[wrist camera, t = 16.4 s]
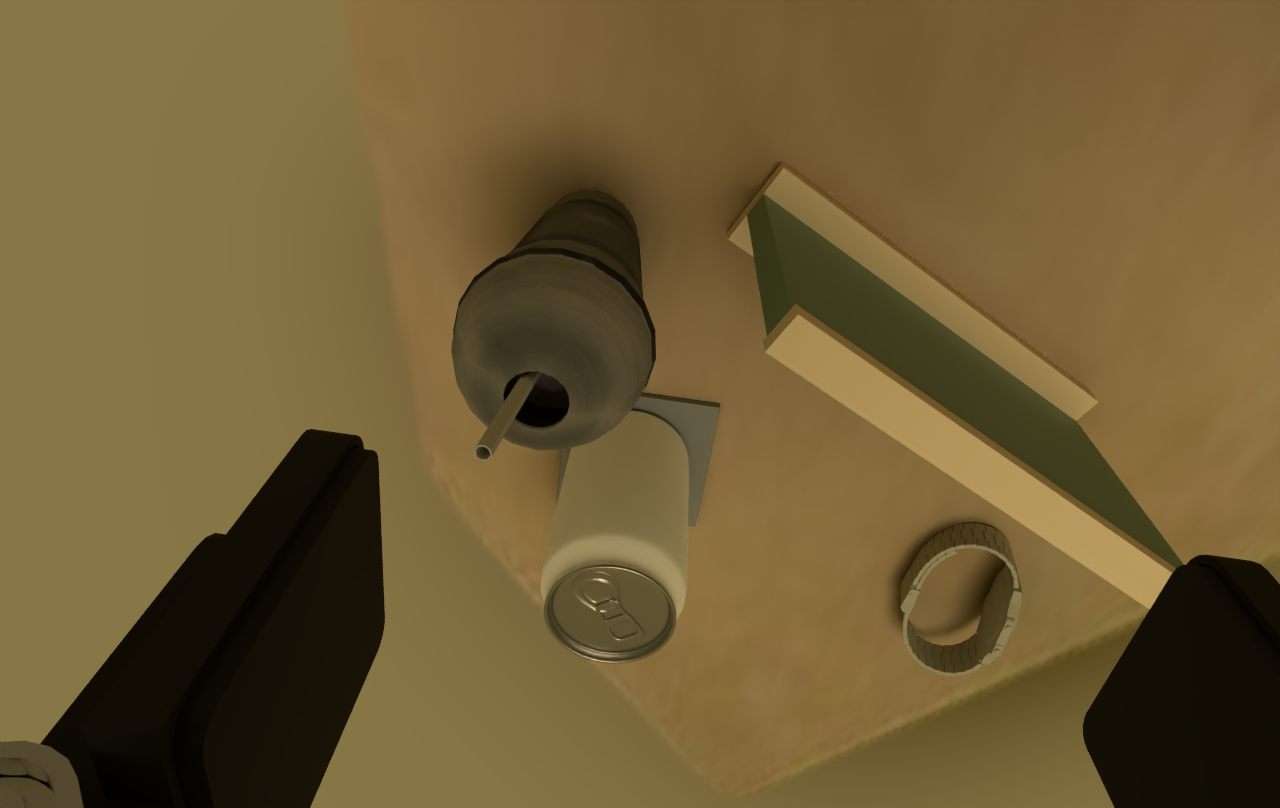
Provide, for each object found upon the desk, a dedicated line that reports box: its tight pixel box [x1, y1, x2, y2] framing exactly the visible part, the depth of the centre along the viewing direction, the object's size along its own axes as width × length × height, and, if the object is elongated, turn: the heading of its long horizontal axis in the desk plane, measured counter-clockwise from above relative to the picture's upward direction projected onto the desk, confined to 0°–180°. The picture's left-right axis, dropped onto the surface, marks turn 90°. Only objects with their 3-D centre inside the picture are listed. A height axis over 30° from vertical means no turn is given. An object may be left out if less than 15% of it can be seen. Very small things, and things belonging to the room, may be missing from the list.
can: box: [541, 411, 689, 663], centre depth 40 cm, size 6×6×12 cm
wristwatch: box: [901, 523, 1022, 676], centre depth 47 cm, size 9×6×5 cm
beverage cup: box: [452, 191, 656, 461], centre depth 31 cm, size 7×7×20 cm
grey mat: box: [557, 393, 720, 526], centre depth 45 cm, size 8×8×1 cm
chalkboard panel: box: [727, 162, 1184, 609], centre depth 34 cm, size 20×4×14 cm, turn 55°
